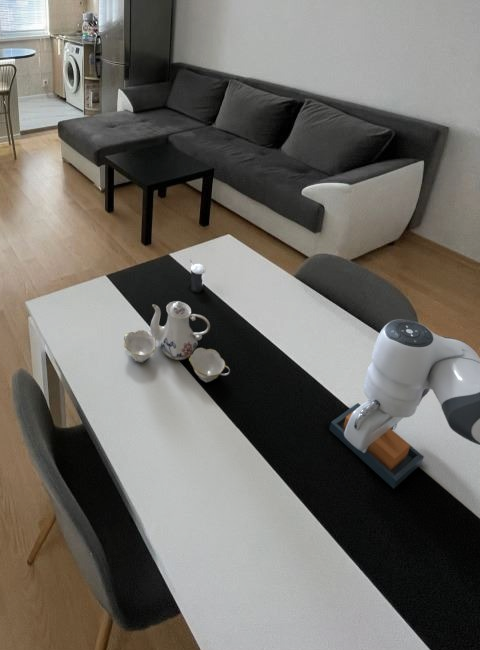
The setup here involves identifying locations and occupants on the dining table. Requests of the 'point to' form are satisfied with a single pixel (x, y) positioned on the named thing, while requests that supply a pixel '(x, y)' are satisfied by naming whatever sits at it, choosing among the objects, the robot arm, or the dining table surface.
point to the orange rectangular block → (387, 448)
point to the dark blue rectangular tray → (390, 477)
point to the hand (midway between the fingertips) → (376, 437)
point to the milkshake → (197, 276)
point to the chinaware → (176, 341)
